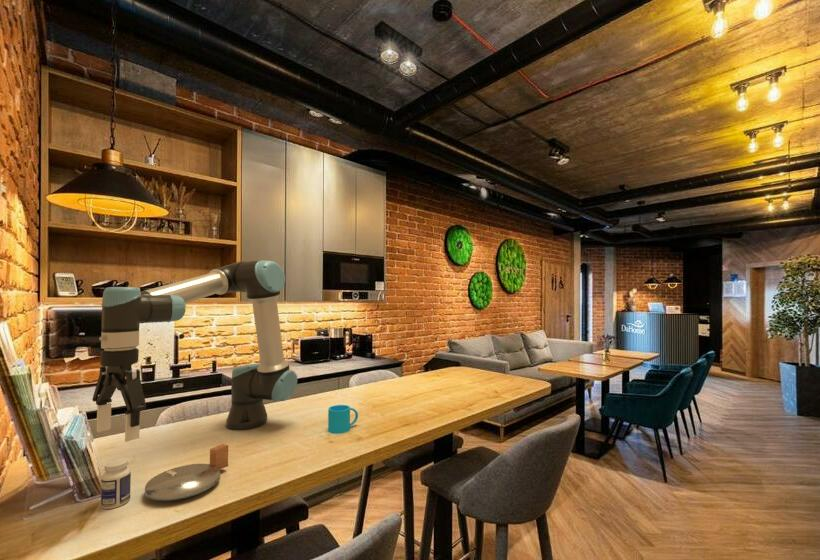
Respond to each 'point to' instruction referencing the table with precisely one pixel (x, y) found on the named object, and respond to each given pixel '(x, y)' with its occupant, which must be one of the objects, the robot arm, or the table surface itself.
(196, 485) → the disc
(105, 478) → the pill bottle
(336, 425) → the mug
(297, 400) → the table surface
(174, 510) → the table surface
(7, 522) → the table surface
